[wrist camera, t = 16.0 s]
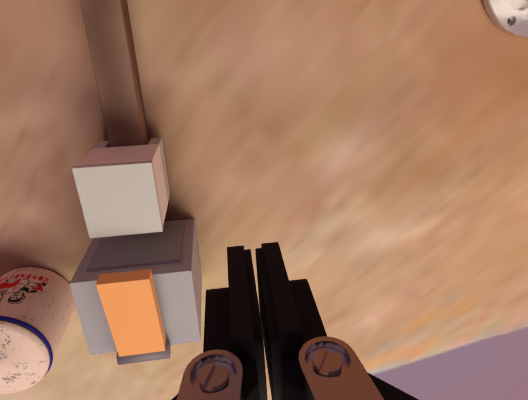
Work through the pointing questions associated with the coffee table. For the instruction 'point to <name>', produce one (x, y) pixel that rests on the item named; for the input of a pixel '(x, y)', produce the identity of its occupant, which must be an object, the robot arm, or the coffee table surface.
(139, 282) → the lever
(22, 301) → the teacup with lid
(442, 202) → the coffee table surface
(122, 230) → the block
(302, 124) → the coffee table surface
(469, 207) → the coffee table surface
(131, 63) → the rail
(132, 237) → the cabinet
